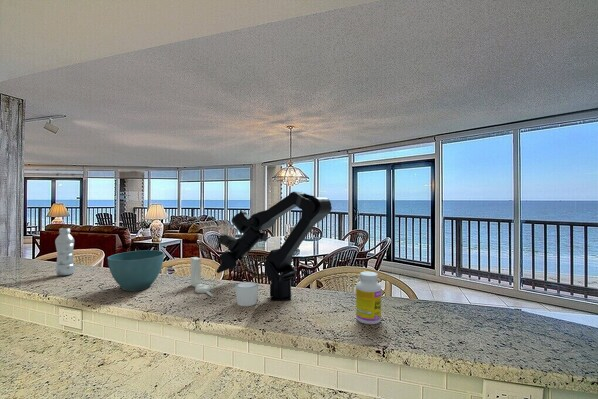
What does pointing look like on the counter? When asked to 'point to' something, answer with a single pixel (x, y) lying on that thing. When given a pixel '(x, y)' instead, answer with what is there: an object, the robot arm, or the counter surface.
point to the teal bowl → (136, 268)
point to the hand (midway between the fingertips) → (217, 272)
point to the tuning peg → (198, 277)
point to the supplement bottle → (368, 299)
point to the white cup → (247, 293)
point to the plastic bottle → (64, 252)
